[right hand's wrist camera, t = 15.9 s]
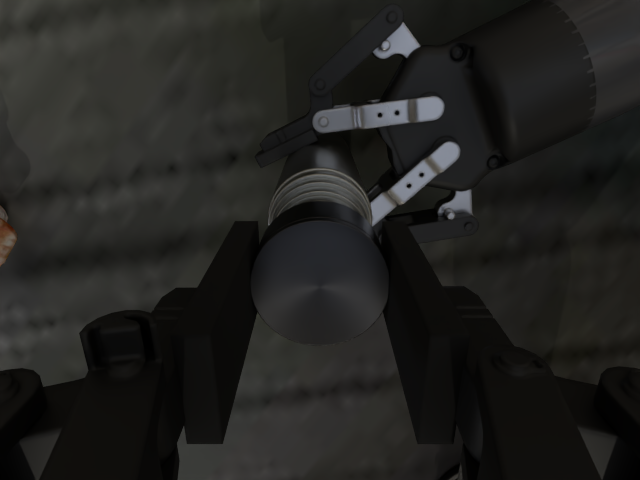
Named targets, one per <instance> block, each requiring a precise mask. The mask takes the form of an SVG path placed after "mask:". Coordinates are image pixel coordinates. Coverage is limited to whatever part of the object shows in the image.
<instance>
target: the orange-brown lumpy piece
mask: <svg viewBox="0 0 640 480" xmlns="http://www.w3.org/2000/svg"><path fill="white" fill-rule="evenodd" d="M7 219H8V217H7V214H6V212H5V210H4V209H3V208H2V206H1V205H0V266H1V265H2V264H3V263H4V262H5V261H6V259H7V257H8V255H9V253H10V252H11V250H12V248H13V246H14V245H15V243H16V241H17V233H16V232H15V230H14V229H13V228H12V227H11V226H10V225H9V224H8V223H7Z"/></svg>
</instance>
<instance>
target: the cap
mask: <svg viewBox="0 0 640 480" xmlns="http://www.w3.org/2000/svg"><path fill="white" fill-rule="evenodd" d="M250 283H251V297H252V300H253V304H254V306H255V308H256V310H257V312H258V313H259V315H260V316H261V318H262V319H263V320H264V321H265V323H266V324H267V325H268V326H269V327H271V328H272V329H273V330H274V331H275V332H277V333H278V334H280V335H281V336H283V337H285V338H287V339H289V340H292V341H294V342H298V343H301V344H306V345H313V346H326V345H334V344H339V343H342V342H346V341H348V340H351V339H353V338H355V337H357V336H359V335H360V334H362V333H363V332H365V331H366V330H367V329H369V328H370V327H371V326H372V325H373V324H374V323H375V322H376V320H377V319H378V318H379V317H380V315H381V314H382V312H383V310H384V308H385V306H386V304H387V301H388V298H389V287H390V272H389V268H388V265H387V262H386V259H385V256H384V253H383V250H382V247H381V245H380V242H379V239H378V236H377V234H376V232H375V230H374V229H373V228H372V226H371V225H370V223H369V222H368V221H367V220H366V219H365V218H364V217H363V216H361V215H360V214H359V213H358V212H356V211H354V210H353V209H351V208H349V207H347V206H345V205H342V204H339V203H335V202H329V201H311V202H306V203H301V204H299V205H296V206H293V207H291V208H289V209H287V210H286V211H284V212H283V213H281V214H280V215H279V216H278V217H276V218H275V219H274V220H273V221H272V223H271V224H270V225H269V226H268V228H267V229H266V231H265V233H264V235H263V237H262V239H261V242H260V245H259V248H258V251H257V253H256V256H255V259H254V262H253V265H252V269H251V273H250Z"/></svg>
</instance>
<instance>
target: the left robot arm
mask: <svg viewBox="0 0 640 480" xmlns="http://www.w3.org/2000/svg"><path fill="white" fill-rule="evenodd" d="M403 20H404V13H403V10H402V9H401V7H400V6H398V5H397V4H389V5H387V6H385V7H384V8H383V9H382V10H381V11H380V12H379V13H378V14H377V15H376V16H375V17H374V18H372V19H371V20H370V21H369V22H368V23H367V24H366V25H365V26H364V27H363V28H362V29H361V30H360V31H359V32H358V33H357V34H356V35H355V36H353V37H352V38H351V39H350V40H349V41H348V42H347V43H346V44H345V45H344V46H343V47H342V48H341V49H340V50H339V51H338V52H337V53H336V54H334V55H333V56H332V57H331V58H330V59H329V60H328V61H327V62H326V63H325V64H324V65H323V66H322V67H321V68H320V69H319V70H318V71H317V72H316V73H314V74H313V75H312V77H311V78H310V80H309V90H310V100H311V108H310V111H309V112H308V113H307V114H306V115H305V116H303V117H301V118H299V119H297V120H295V121H293V122H291V123H289V124H287V125H285V126H283V127H281V128H279V129H277V130H275V131H273V132H271V133H269V134H268V135H267V136H266V137H265V139H264V140H263V141H262V142H261V143H260V146H261V148H262V150H261V151H259V152H258V153H257V154H256V156H255V158H256V160H257V162H258V164H259V166H260V168H262V167H264V166H267V165H269V164H271V163H273V162H275V161H277V160H279V159H281V158H283V157H285V156H287V155H289V154H291V153H293V152H295V151H297V150H299V149H301V148H303V147H305V146H308V145H310V144H312V143H314V142H316V141H318V136H319V135H321V134H323V133H329V132H336V131H344V130H351V129H368V128H375V127H376V130H377V132H378V134H379V135H380V137H381V138H382V139H383V140H384V142H385V143H386V145H387V152H388V158H389V161H390V163H391V165H392V167H390V168H389V169H388V170H387V171H386V172H385V173H384V174H383V175H382V176H381V177H380V178H379V180H378V182H377V183H376V184H375V185H374V186H372V187H371V188H370V189H369V190H368V191H367V192H366V193H367V196H368V199H369V201H370V204H371V209H372V228H373V229H374V230H375V232H376V234H377V236H378V239H379V242H380V244H381V235H382V221H405V222H406V224H407V226H408V227H409V229H410V231H411V233H412V234H413V236H414V238H415V240H416V241H417V243H418V244H419V243H425V242H431V241H438V240H444V239H450V238H456V237H463V236H469V235H472V234H474V233H475V232H476V231H477V230H478V227H479V223H478V220H477V219H476V218H475V217H474V216H473V214H472V197H471V189H472V188H474V187H475V186H476V185H477V184H478V183H479V182H480V181H481V179H482V178H483V177H484V176H485V175H487V174H488V173H489V172H491V171H493V170H495V169H498V168H501V167H503V166H506V165H509V164H511V163H513V162H515V161H518V160H520V159H522V158H525V157H527V156H529V155H531V154H534V153H536V152H538V151H540V150H543V149H545V148H547V147H549V146H552V145H554V144H556V143H558V142H561V141H563V140H565V139H567V138H570V137H572V136H574V135H576V134H579V133H581V132H583V131H585V130H588V129H590V128H592V127H594V126H597V125H599V124H601V123H604V122H606V121H608V120H610V119H613V118H615V117H617V116H619V115H621V114H623V113H626V112H628V111H630V110H632V109H633V108H635V107H637V106H639V105H640V0H532V1H530V2H528V3H526V4H524V5H522V6H520V7H518V8H516V9H514V10H512V11H510V12H508V13H506V14H504V15H502V16H500V17H498V18H496V19H494V20H492V21H490V22H488V23H486V24H484V25H482V26H480V27H478V28H476V29H474V30H472V31H470V32H468V33H466V34H464V35H462V36H460V37H458V38H456V39H454V40H452V41H450V42H448V43H446V44H443V45H439V46H433V45H424V46H420V45H419V43H418V42H417V41H416V39H415V38H414V36H413V35H412V34H411V32H410V31H409V29H408V28H407V27H406V25H405V24H404V22H403ZM371 53H372V55H373V56H374V57H375V58H377V59H385V58H388V57H390V56H391V55H393V54H397V55H400V56H401V57H402V58H403V60H402V62H401V64H400V66H399V67H398V69H397V71H396V73H395V75H394V76H393V78H392V80H391V82H390V83H389V85H388V87H387V89H386V91H385V92H384V94H383V96H382V98H379V99H372V100H364V101H357V102H352V103H347V104H340V105H333V98H332V89H333V88H334V87H335V86H336V85H338V84H339V83H340V82H341V81H342V80H343V79H344V78H345V77H346V76H347V75H348V74H349V73H350V72H352V71H353V70H354V69H355V68H356V67H357V66H358V65H359V64H360V63H361V62H362V61H363V60H365V59H366V58H367V57H368V56H369V55H370V54H371ZM407 184H409V185H408V186H407ZM424 186H430V187H436V188H441V189H447V190H451V192H450V194H449V195H448V196H447V197H446V198H444V199H441V200H439V201H438V202H437V203H436V204H435V206H434V209H428V210H422V211H416V212H410V213H404V214H398V215H392V216H386V215H387V214H388V213H389V212H390V211H391V210H393V209H394V208H395V207H397V206H401V205H402V204H404V203H405V202H406V201H408V200H409V199H410V198H411V197H412V196H413V195H414V194H416V193H417V192H418V191H419V190H420V189H421V188H423V187H424ZM458 472H459V466H458V467H456V468H454V469H453V470H451V471H450V472H448V473H447V474H446V475H445V476H444V477H443V478H442V479H441V480H457V478H458Z"/></svg>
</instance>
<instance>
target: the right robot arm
mask: <svg viewBox="0 0 640 480" xmlns="http://www.w3.org/2000/svg"><path fill="white" fill-rule="evenodd" d="M381 247H382V250H383V253H384V256H385V259H386V262H387V265H388V268H389V272H390V287H389V298H388V301H387V304H386V306H385V308H384V310H383V314H384V318H385V321H386V325H387V329H388V333H389V337H390V340H391V344H392V348H393V352H394V356H395V360H396V363H397V367H398V371H399V375H400V379H401V382H402V386H403V390H404V394H405V398H406V401H407V405H408V409H409V413H410V417H411V421H412V424H413V428H414V432H415V436H416V440H417V443H418V444H453V443H454V436H455V430H456V423H457V426H458V428H459V431H460V433H461V436H462V439H463V441H464V442H463V448H462V454H461V460H460V466H459V472H458V478H457V480H640V369H637V368H630V367H620V366H619V367H613V368H607V369H606V370H605V371H604V372H603V373H602V374H601V376H600V380H599V383H598V385H593V384H589V383H584V382H579V381H574V380H569V379H565V378H561V377H557V376H554V374H553V372H552V370H551V369H550V367H549V366H548V365H547V363H546V362H545V361H544V360H543V359H541V358H540V357H538V356H537V355H536V354H534V353H532V352H530V351H527V350H525V349H523V348H520V347H515V346H514V345H513V344H512V343H511V341H510V340H509V338H508V337H507V336H506V334H505V333H504V331H503V330H502V328H501V327H500V326H499V324H498V323H497V321H496V320H495V319H494V318H493V316H492V314H491V313H490V312H489V310H488V309H486V306H485V305H484V303H483V302H482V300H481V299H480V297H479V296H478V295H476V294H475V293H473V292H472V291H470V290H469V289H467V288H466V287H464V286H442V285H441V283H440V282H439V280H438V278H437V276H436V275H435V273H434V271H433V269H432V268H431V266H430V264H429V262H428V261H427V259H426V257H425V255H424V254H423V252H422V250H421V248H420V247H419V245H418V243H417V241H416V240H415V238H414V236H413V234H412V233H411V231H410V229H409V227H408V226H407V224H406V222H405V221H382V235H381ZM258 248H259V231H258V221H235V223H234V224H233V226H232V228H231V230H230V231H229V233H228V235H227V237H226V238H225V240H224V242H223V244H222V245H221V247H220V249H219V251H218V252H217V254H216V256H215V258H214V259H213V261H212V263H211V265H210V266H209V268H208V270H207V272H206V273H205V275H204V277H203V279H202V280H201V282H200V284H199V286H198V287H197V288H175V289H174V290H172V291H171V292H169V293H168V294H166V295H165V296H163V297H162V298H161V300H160V301H159V302H158V304H157V305H156V307H155V308H154V310H153V311H152V312H151V314H150V313H149V312H145V311H141V310H125V311H120V312H114V313H110V314H108V315H105V316H102V317H100V318H97V319H96V320H94V321H92V322H91V323H89V324H87V325H86V326H85V327H84V328H83V329H82V331H81V332H80V333H79V334H80V338H81V342H82V346H83V350H84V354H85V358H86V362H87V366H88V370H89V371H88V373H87V375H86V377H85V378H82V379H79V380H75V381H70V382H66V383H61V384H56V385H51V386H46V387H43V385H42V382H41V379H40V376H39V375H38V374H37V373H36V372H35V371H34V370H29V369H23V368H20V369H10V370H4V371H0V480H177V479H178V470H179V454H178V448H177V442H178V439H179V436H180V434H181V431H182V429H183V426H184V428H185V434H186V441H187V444H223V441H224V437H225V433H226V429H227V425H228V422H229V418H230V414H231V410H232V406H233V403H234V399H235V395H236V391H237V387H238V383H239V380H240V376H241V372H242V368H243V364H244V361H245V357H246V353H247V349H248V345H249V341H250V338H251V334H252V330H253V326H254V322H255V319H256V315H257V310H256V308H255V306H254V304H253V300H252V297H251V283H250V273H251V269H252V265H253V262H254V259H255V256H256V253H257V251H258Z"/></svg>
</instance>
